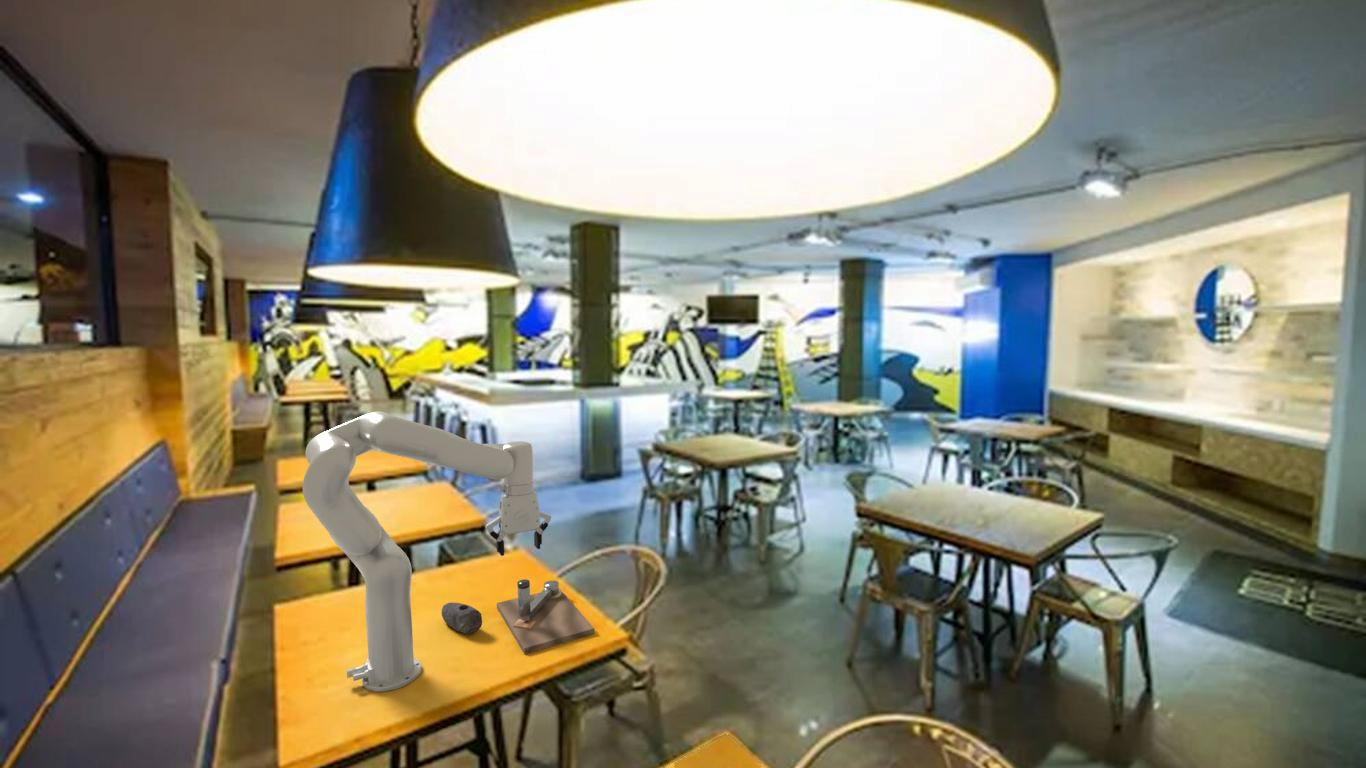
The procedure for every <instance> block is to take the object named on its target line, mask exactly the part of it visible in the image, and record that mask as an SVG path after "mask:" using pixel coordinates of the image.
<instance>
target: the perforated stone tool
mask: <svg viewBox="0 0 1366 768" xmlns="http://www.w3.org/2000/svg"><path fill="white" fill-rule="evenodd" d="M441 617H442V620H443V621H444V623H446V625H447V626H449V627H450V628H452V629H454V630H456V631H457V632H459V633H461V632H462V633H464V634H471V633H473V632H474V633H475V632H477V631H478V630H480V628H481V627H482V626H483V617H482V613H481V611H479V610H478V609H476V608H474V607H473V606H471V605H469V604H465V603H460V602H446V603H445V604H444V605H443V606H442V608H441Z"/></svg>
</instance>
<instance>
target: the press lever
mask: <svg viewBox="0 0 1366 768" xmlns="http://www.w3.org/2000/svg"><path fill="white" fill-rule="evenodd" d="M516 582H517V583H516V584H517V585H516V586H517V598H518V616H519V617H522V620H526V621H530V620H531V618H532V617H533V616H534V615H535V614H536V613H537V612H538V610H539V609H540V608H541V607H542V606H543V605H544V604H545V602H546V601H547V600H548V599H549V598H550V597H551V596H552V595H556V594H557V593H558V592H559V588H560V587H559V585H560V584H559V582H558V581H557V580H548V581H546V582H544V583H543V589H542V590H541V591H540V592H541V593H540V592H539V593H540V594H539V595H538V596H537V597H536V598H535V599H534V600H533V601H532V602H531V604H530V595H531V583H530V579H519V580H518V581H516Z"/></svg>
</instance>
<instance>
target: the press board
mask: <svg viewBox="0 0 1366 768" xmlns="http://www.w3.org/2000/svg"><path fill="white" fill-rule="evenodd" d="M541 592H542V591H540V592H537V593H533V594H530V604H531V602H532V601H533V600H534V599H535V598H536V597H537V596H538V595H539V594H540V593H541ZM496 609H497V611H498V613H499V614H500V615H501V618H502V620H503V621H504V622H505V624H506V626H507V627H508V629H509V631H510V633H511V635H512V636H513V638H514V639H515V641H516V642H517V645H518V646H519V648H520V650H521V651H522V652H523V654H524V655H528V654H530V653H533V652H538V651H539V650H540V651H541V650H543V649H547V648H551V647H555V646H557V645H561V644H565V643H568V642H571V641H575V640H577V639H581V638H586V637H589V636H593V635H594V634H595V628H594V626H593V625H592V624H591V623H590V621H589V620H587V618H586V617H585V616H584V615H583V614H582V612H581V611H580V610H579V609H578V608H577V607H576V606H575V604H574V603H573V602H572V601H571V600H570V599H569V597H568V596H567V595H566V594H565V593H564V591H563V590H562V589H561V588H560V587H559V592H558V593H557V594H556V595H552V596H551V597H550V598H549V599H548V600H547V601H546V602H545V604H544V605H543V606H542V607H541V608H540V609H539V610H538V612H537V613H536V614H535V615H534V616H533V617H532V618H531V620H530V621H526V620H522V617H519V616H518V597H517V598H516V597H515V598H513V599H507V600H504V601H503V600H502V601H500V602H497V603H496Z"/></svg>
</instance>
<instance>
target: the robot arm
mask: <svg viewBox="0 0 1366 768" xmlns="http://www.w3.org/2000/svg"><path fill="white" fill-rule="evenodd" d="M371 450H375V451H377V452H380V453H384V454H389V455H392V456H395V457H397V456H398V457H402V458H406V459H410V460H415V461H418V462H422V463H427V464H430V465H434V466H437V467H439V468H440V467H441V468H445V469H446V468H447V469H450V470H455V471H458V472H462V473H465V474H470V475H473V476H478V477H481V478H482V477H483V478H487V479H491V480H502V479H503V482H502V484H501V486H497V491H498V492H500V493H501V492H502V493H501V495H500V501H499V509H498V516H497V517H496V518H494V519H493V520H492V521H490V522H488V523H486V525H485V529H486V531H487V532H488V533H489V535H490V537H492V538H493V539H494V540H496V543H495V544H496V553H499V554H500V556H501V557H503V556H505V541H504V540H503V539H504V538H505V536H506V535H514V534H519V533H524V532H530V531H534V532H533V533H534V534H533V536H534V537H533V539H534V540H533V541H534V544H533V545H534V547H535V548H536V550H540V549H541V545H542V544H543V537H542V536H543V534H544V532H545V530H546V529H547V527H549V523H550V522H551V519H552V516H551V515H550V514H548V513H545V512H543V511H540V506H539V505H540V504H539V499H538V494H537V492H536V491H535V490H534V474H533V473H534V470H533V468H534V467H533V466H534V465H533V464H534V463H533V461H534V460H533V446H532V444H531V443H530V442H527V441H521V440H520V441H510V442H507V443H482V444H481V443H478V442H476V441H472V440H469V439H466V438H463V437H461V436H459V435H456V433H455V434H454V433H453V432H451V431H448V430H445V429H442V428H439V427H435V426H430V425H426V424H423V423H419V422H416V421H412V420H409V419H405V418H402V417H398V416H396V415H395V416H394V415H391V414H390V413H388V412H385V411H381V410H380V411H372V412H369V413H366V414H364V415H361V416H359V417H357V418H354V419H352V420H349V421H347V422H345V423H342V424H340V425H337V426H335V427H333V428H330V429H329V430H328V429H327V430H326V431H323V432H321V433H319V434H317V435H316V436H314V437H313V438H311V440H310V441H309V442H308V444H307V445H306V448H305V458H306V460H307V462H308V464H309V465H308V467H307V469H306V471H305V473H304V477H303V480H302V481H303V482H302V494H303V495H302V496H303V498H304V501H305V503H306V505H307V506H308V507H309V509H310V511H311V513H313V514H314V516H315V517H316V519H318V521H319V523H320V524H321V525H322V526H323V527H324V529H325V530H326V531H327V532H328V534H329V536H330V538H331V539H332V540H333V542H334V543H335V545H336V546H337V547H338V548H339V549H340V550H341V551H343V553H344V554H345V555H346V556H347V558H349V560H351V562H352V563H353V565H355V568H357V569H358V571H359V572H360V574H361V575H362V577H363V579H364V583H365V596H364V597H365V599H364V603H365V604H364V605H365V622H366V623H365V625H366V637H367V638H366V639H367V640H366V641H367V653H368V655H367V658H366V662H365V663H362V664H361V665H360V666H356V667H355V666H354V667H351V668H346V675H347V676H346V678H347V679H349V678H352V679H353V680H352V681H353V682H355V681H359V680H361V682H362V686H363V688H365V689H366V690H368V691H371V692H376V693H377V692H389V691H394V690H397V689H401V688H403V687H404V686H407V685H408V684H410V683H411V682H413V681H414V680H415V679H417V678H418V677H419V676H420V674H421V672H422V663H421V661H420V660H418V659H417V658H416V657H414V639H413V622H412V620H413V619H412V618H413V617H412V603H411V601H412V600H411V587H412V573H413V571H412V570H413V569H412V564H411V562H410V559H409V557H408V556H407V554H406V552H404V550H402V548H401V547H400V546H398V544H397V543H396V542H395V540H393V539H392V537H391V536H390V534H388V532H387V531H386V530H385V528H384V527H383V526H382V525H381V523H380V522H379V520H378V518H377V517H376V516H375V514H374V513H372V511H371V510H370V509H369V508H368V507H366V506H365V505H364V504H363V503H362V502H361V500H360V499H359V497H358V496H357V494H356V493H355V492H354V490H353V488H352V487H351V486H350V481H349V479H350V477H351V473H352V471H353V470H354V467H355V465H356V460H357V457H359V456H361V455H363V454H365V453H367V452H369V451H371ZM541 518H542V519H543V521H542V523H541ZM497 525H498V529H499V530H498V531H497V532H496V531H495V530H494V527H497Z"/></svg>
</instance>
